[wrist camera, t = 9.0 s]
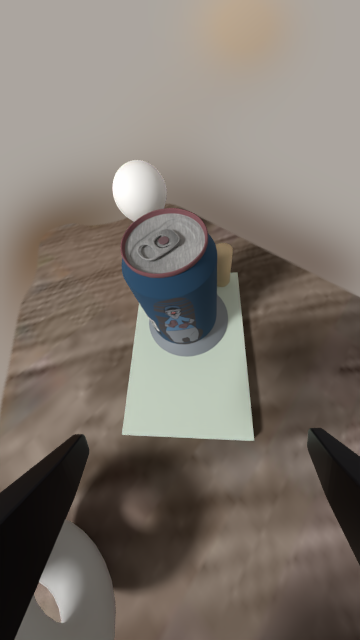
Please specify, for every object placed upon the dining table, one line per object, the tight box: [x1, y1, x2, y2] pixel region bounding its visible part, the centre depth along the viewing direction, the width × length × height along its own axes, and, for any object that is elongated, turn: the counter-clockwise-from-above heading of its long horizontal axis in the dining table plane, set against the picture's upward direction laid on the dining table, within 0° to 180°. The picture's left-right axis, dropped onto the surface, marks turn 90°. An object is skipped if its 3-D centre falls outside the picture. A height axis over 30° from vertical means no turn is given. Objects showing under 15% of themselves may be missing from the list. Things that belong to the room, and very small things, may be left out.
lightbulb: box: [113, 160, 167, 222], centre depth 27 cm, size 6×6×11 cm
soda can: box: [121, 208, 217, 344], centre depth 19 cm, size 7×7×12 cm
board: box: [122, 243, 254, 441], centre depth 22 cm, size 18×12×6 cm, turn 178°
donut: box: [15, 519, 116, 640], centre depth 13 cm, size 10×3×10 cm, turn 52°
